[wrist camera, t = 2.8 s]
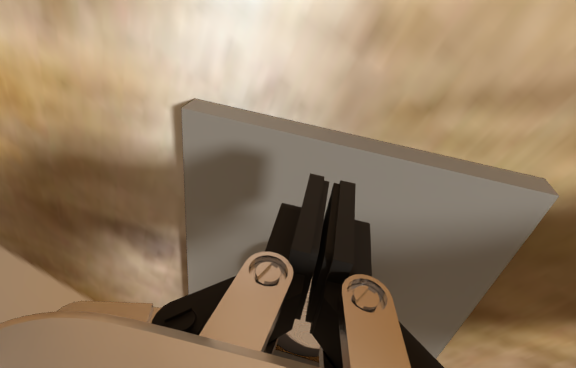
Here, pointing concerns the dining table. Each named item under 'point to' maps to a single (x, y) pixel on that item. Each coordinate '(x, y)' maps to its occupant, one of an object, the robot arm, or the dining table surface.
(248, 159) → the grey flat plate
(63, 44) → the dining table surface
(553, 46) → the dining table surface
